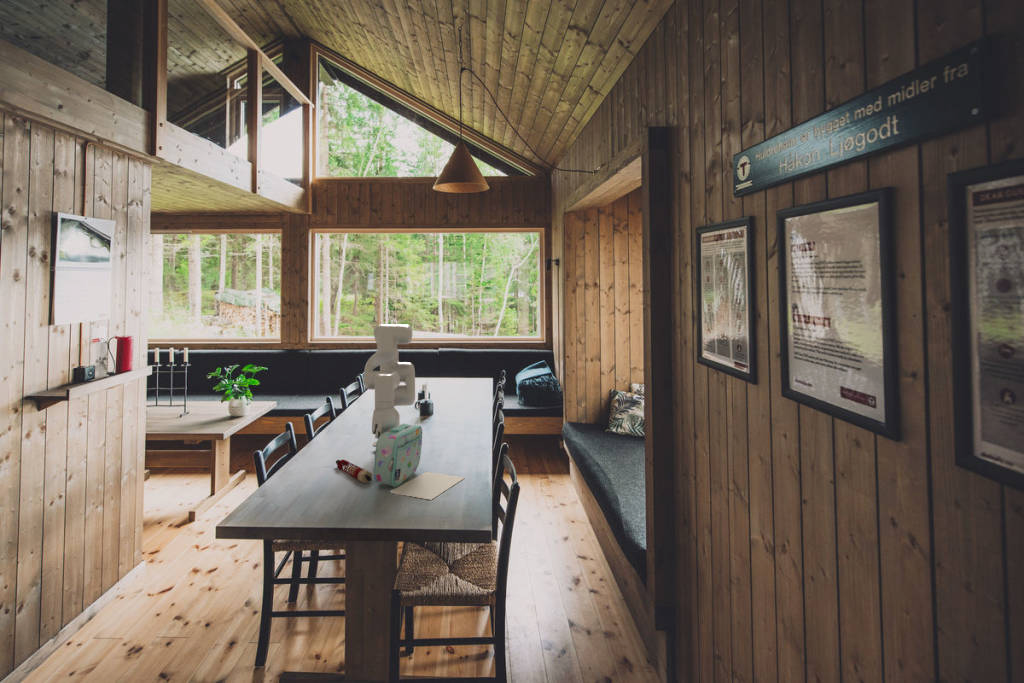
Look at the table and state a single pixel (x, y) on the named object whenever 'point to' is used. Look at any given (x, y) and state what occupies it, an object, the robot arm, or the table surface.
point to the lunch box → (397, 454)
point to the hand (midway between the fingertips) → (384, 450)
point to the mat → (427, 485)
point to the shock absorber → (354, 471)
